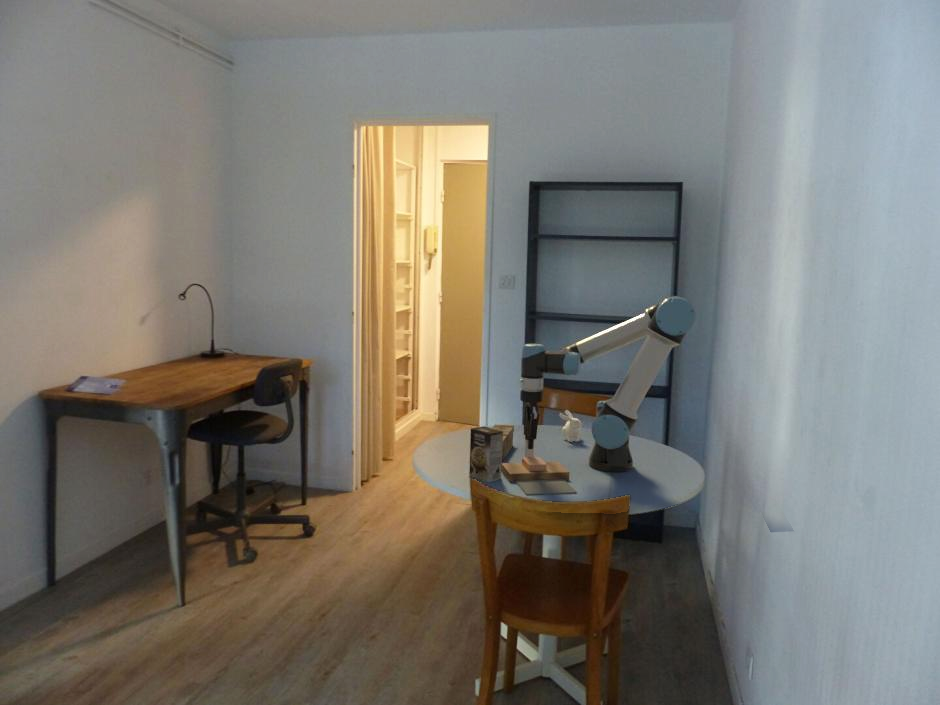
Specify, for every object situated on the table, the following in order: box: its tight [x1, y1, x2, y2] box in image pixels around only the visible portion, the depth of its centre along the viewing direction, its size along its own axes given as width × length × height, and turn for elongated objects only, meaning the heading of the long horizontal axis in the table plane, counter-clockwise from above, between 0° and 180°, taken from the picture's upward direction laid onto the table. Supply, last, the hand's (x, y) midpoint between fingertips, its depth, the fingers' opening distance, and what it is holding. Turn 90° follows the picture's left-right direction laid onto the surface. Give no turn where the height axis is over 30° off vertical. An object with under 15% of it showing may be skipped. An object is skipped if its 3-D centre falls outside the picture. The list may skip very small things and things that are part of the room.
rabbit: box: [559, 409, 583, 443], centre depth 281 cm, size 12×9×12 cm
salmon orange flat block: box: [521, 456, 547, 471], centre depth 232 cm, size 9×6×2 cm, turn 10°
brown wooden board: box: [501, 461, 570, 483], centre depth 231 cm, size 20×12×3 cm, turn 100°
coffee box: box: [468, 425, 503, 483], centre depth 226 cm, size 9×6×16 cm
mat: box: [515, 479, 578, 496], centre depth 219 cm, size 16×13×1 cm
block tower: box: [492, 423, 515, 461], centre depth 257 cm, size 8×8×29 cm
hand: (529, 457), depth 238 cm, fingers closed
